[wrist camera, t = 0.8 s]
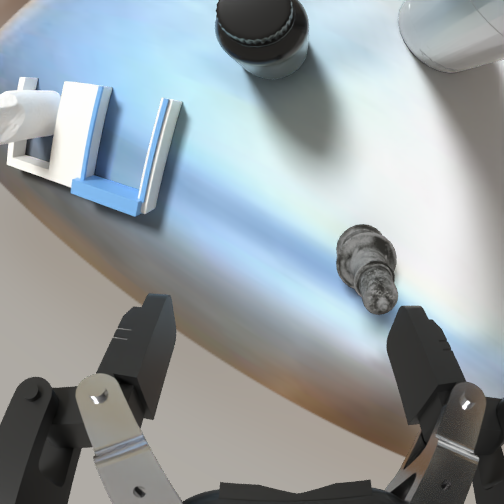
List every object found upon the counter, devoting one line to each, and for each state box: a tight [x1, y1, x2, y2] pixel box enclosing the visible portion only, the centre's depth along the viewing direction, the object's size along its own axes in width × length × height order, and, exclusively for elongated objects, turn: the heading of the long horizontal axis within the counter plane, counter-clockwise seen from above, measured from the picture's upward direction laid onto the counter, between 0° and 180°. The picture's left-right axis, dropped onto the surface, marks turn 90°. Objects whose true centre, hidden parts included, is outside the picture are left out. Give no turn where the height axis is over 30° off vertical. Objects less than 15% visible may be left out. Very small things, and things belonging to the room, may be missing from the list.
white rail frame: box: [7, 77, 182, 217], centre depth 31 cm, size 12×23×4 cm, turn 72°
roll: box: [0, 90, 61, 145], centre depth 26 cm, size 6×12×6 cm
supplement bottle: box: [215, 0, 309, 79], centre depth 21 cm, size 7×7×12 cm
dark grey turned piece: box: [336, 224, 398, 315], centre depth 27 cm, size 6×6×12 cm
